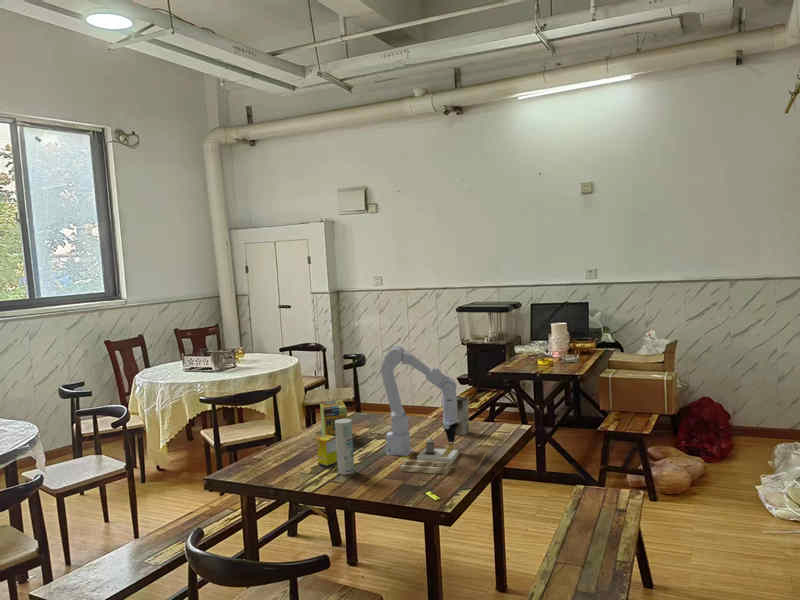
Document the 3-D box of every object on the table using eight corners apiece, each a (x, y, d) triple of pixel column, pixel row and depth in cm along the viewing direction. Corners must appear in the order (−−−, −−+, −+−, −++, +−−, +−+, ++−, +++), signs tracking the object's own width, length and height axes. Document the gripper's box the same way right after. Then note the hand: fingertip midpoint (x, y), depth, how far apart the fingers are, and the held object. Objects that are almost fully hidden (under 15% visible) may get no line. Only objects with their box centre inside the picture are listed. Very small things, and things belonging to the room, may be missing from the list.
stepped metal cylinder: (425, 458, 245) (424, 440, 245) (428, 456, 248) (427, 438, 248) (433, 459, 244) (432, 440, 244) (435, 456, 247) (434, 438, 247)
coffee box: (445, 433, 280) (443, 398, 279) (452, 429, 286) (450, 395, 284) (463, 435, 275) (462, 400, 274) (469, 431, 281) (468, 397, 280)
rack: (400, 472, 233) (400, 465, 233) (406, 465, 240) (406, 459, 239) (446, 475, 227) (446, 468, 227) (451, 468, 234) (451, 462, 234)
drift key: (439, 461, 241) (439, 452, 241) (447, 452, 252) (446, 443, 252) (448, 462, 240) (448, 452, 240) (455, 453, 251) (455, 444, 250)
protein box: (325, 443, 275) (323, 409, 273) (321, 434, 290) (319, 401, 288) (348, 440, 277) (346, 406, 276) (343, 431, 292) (341, 399, 291)
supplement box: (329, 460, 251) (327, 434, 250) (338, 463, 247) (337, 436, 246) (317, 464, 247) (316, 437, 246) (327, 467, 243) (325, 440, 242)
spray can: (348, 475, 232) (345, 423, 231) (334, 473, 236) (331, 422, 234) (358, 470, 238) (354, 419, 237) (344, 468, 241) (340, 417, 240)
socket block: (417, 463, 242) (416, 456, 242) (425, 454, 253) (424, 448, 253) (451, 465, 238) (451, 458, 238) (458, 455, 248) (458, 449, 248)
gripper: (455, 413, 243) (456, 447, 244) (463, 404, 257) (464, 436, 258) (438, 413, 245) (439, 446, 246) (447, 404, 259) (448, 435, 260)
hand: (451, 441), depth 252 cm, fingers closed
